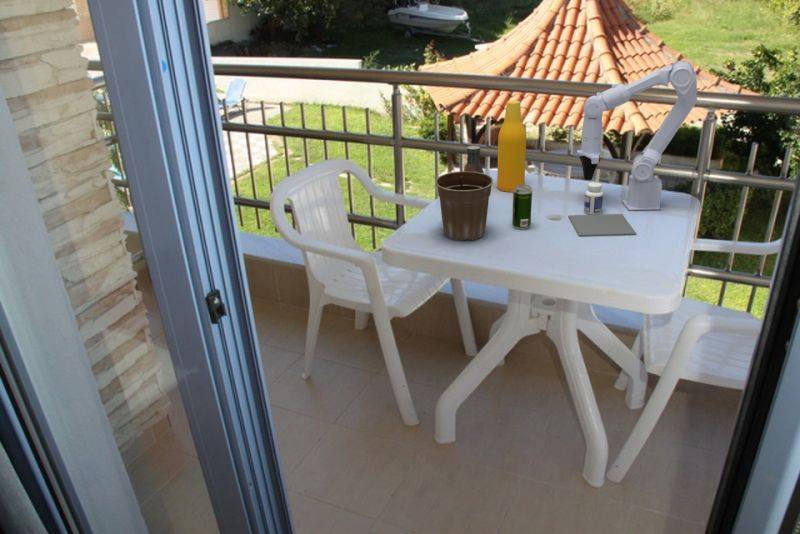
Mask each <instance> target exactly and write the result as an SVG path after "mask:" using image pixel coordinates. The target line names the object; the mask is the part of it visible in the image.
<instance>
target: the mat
mask: <svg viewBox="0 0 800 534" xmlns="http://www.w3.org/2000/svg"><path fill="white" fill-rule="evenodd" d="M568 219H569V220H570V222H571V225H572V226H573V229H574V230H575V232H576V233H577V236H578V237H613V236H614V237H615V236H616V237H618V236H637V232H636V231H635V229H634V228H633V227H632V225H631V224H630V222H628V220H627V219H626V217H625V215H624V214H622V213H611V214H609V213H608V214H607V213H606V214H604V213H603V214H602V213H600V214H597V215H590V214H572V215H570V214H569V215H568Z"/></svg>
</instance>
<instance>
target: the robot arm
mask: <svg viewBox="0 0 800 534" xmlns="http://www.w3.org/2000/svg"><path fill="white" fill-rule="evenodd" d="M695 71H696V70H695V69H694V66H693V65H692V63H691V62H689V61H687V60H679V61H676V62H674V63H670V64H667V65H665V66H664V67H660V68H659V69H656V70H655V71H652V72H650V73H649V74H647V75H645V76H643V77H641V78H639V79H637V80H635V81H632V82H631V83H629V84H627V85H626V84H623V83H619V84H617V83H614V84H612V85H611V88H608V89H606V90H605V91H602V92H600V91H598V92H596V95H591V96H589V97H588V98H587V99H586V101H585V102H584V104H583V107H582V108H583V110H582V111H583V121H582V131H581V143H580V149H579V150H578V149H577V150H576V154H577V155H580V156H579V160H580V163H581V166H582V167H581V168H582V172H583V179H584V181H592V180H593V177H594V174H595V171H596V169H597V166H598V165H599V164H600V162H601V159H600V156H601V143H602V133H603V132H602V131H603V124H604V123H603V114H604V112H609V111H611V110H614V109H616V108H617V107H620V106H622V105H624V104H626V103H629V101H630V98H631V96H633V95H636V94H639V93H641V92H643V91H646V90H648V89H651V88H653V87H655V86H657V85H658V86H664V87H669V83H670V84H671V86H672V88H673V89H674V90H675V91H676V96H677V100H676V102H675V104H674V105H673V107H671V110H670V111H668V114H667V115H666V117H665V119H664V120H663V121H662V123H661V124H660V126H659V127H658V129H657V131H656V132H655V134H654V135H653V136H652V137H651V140H650V141H649V143H648V144H647V145H646V146H645V147H644V149H643V150H642V151H641V152H640V153H639V154H637V155H635V157H634V158H633V160H632V167H631V169H630V170H631V172H630V173H631V174H630V175H629V177H628V188H627V194H626V195H627V196H626V199H623V200H622V202H621V203H623V205H624V206H626V207H625V208H627V210H629V211H648V210H649V211H651V210H653V211H654V210H655V211H656V210H661V207H660V206H661V201H662V192H663V191H662V190H663V183H662V180H661V178H659V177H655V175H654V173H655V167H656V166H657V164H658V162H659V160H660V158H661V156H662V154H663V152H664V151H665V150H666V148H667V146H669V144H670V142H671V141H672V139H673V138H674V136H675V135H676V133H677V132H678V130H679V129H680V127H681V126H682V125H683V124H684V122H685V120H686V118H687V117H688V115H689V114H690V113H691V111H692V110H693V108H694V107H695V105H696V103H697V101H698V89H697V88H698V85H697V84H698V81H697V73H696V72H695Z"/></svg>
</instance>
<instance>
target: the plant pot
mask: <svg viewBox="0 0 800 534" xmlns="http://www.w3.org/2000/svg"><path fill="white" fill-rule="evenodd" d="M434 183H435V185H436V188H437V196H438V197H439V202H440V203H439V206H440V211H441V212H440V213H441V222H442V230H443V231H442V232H443V235H444V236H445V237H446V238H448V239H450V240H452V241H453V240H454V241H461V242H464V241H466V240H469V241H474V240H475V241H476V240H479V239H481V238H483V237H484V235H485V234H486V229H487V221H488V220H487V219H488V212H489V211H488V208H489V200H490V196H491V192H492V185H493V184H494V179H493V177H492V176H490V175H489V174H487V173H479V172H470V171H464V170H462V171H460V170H459V171H452V172H447V173H444V174H442V175H440V176H437V178H436V179H435V181H434Z"/></svg>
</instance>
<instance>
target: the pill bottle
mask: <svg viewBox="0 0 800 534" xmlns="http://www.w3.org/2000/svg"><path fill="white" fill-rule="evenodd" d="M602 187H603V186H602V183H600V182H597V181H596V182H589V183H588V184H587V190H586V191H584V192H585V193H584V202H583V212H584V213H585V215H601V214H602V212H603V211H602V210H603V203H604V202H603V201H604V192H603V191H602Z"/></svg>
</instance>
